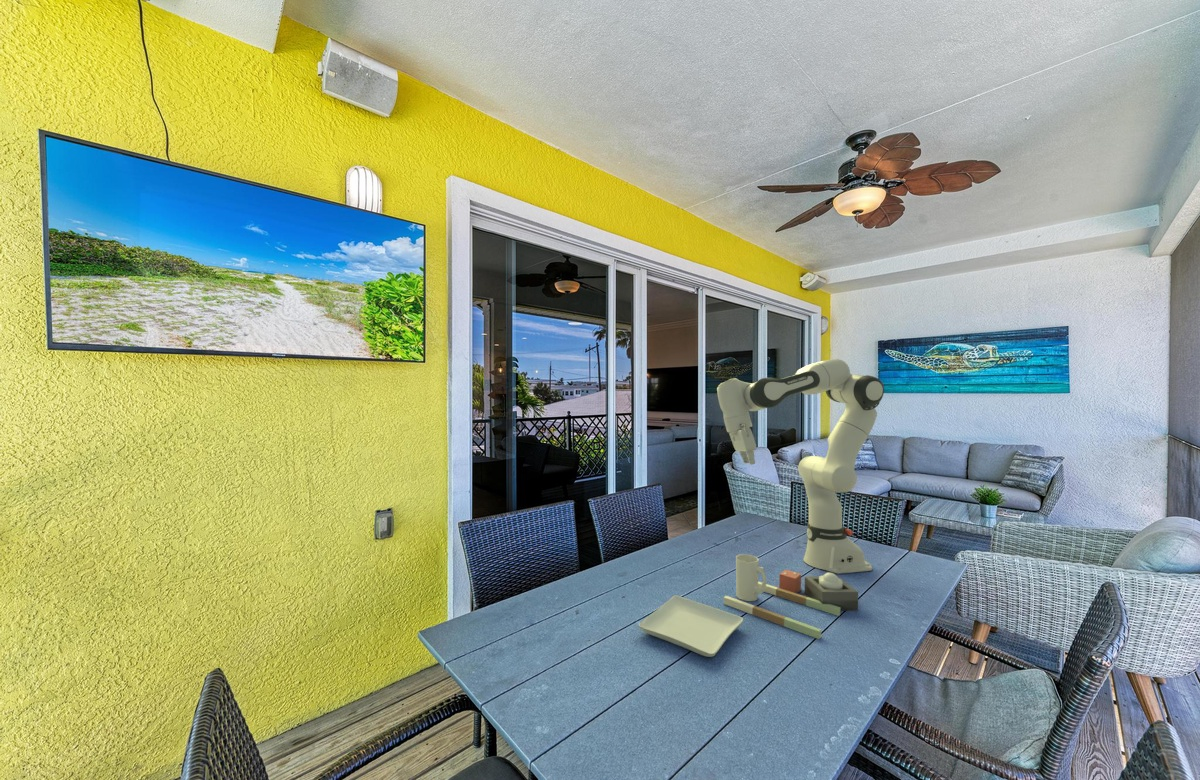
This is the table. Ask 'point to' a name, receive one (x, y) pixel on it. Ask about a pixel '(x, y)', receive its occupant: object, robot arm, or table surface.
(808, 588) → the dome housing
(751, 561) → the mug
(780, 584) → the die
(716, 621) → the salad plate
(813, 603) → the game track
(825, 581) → the pop dome
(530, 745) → the table surface
